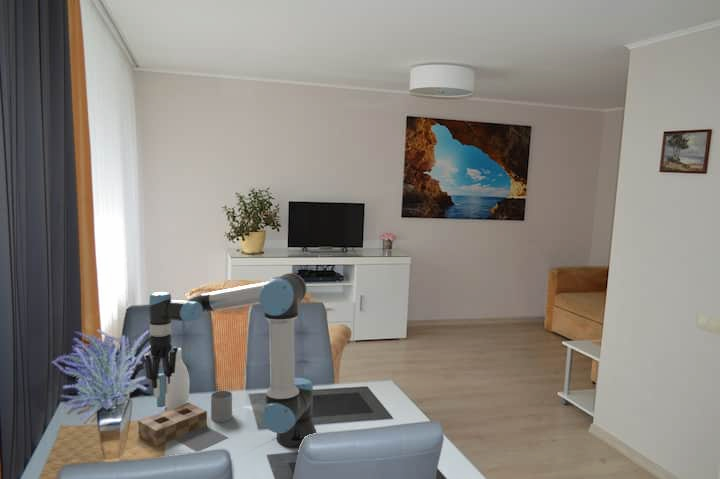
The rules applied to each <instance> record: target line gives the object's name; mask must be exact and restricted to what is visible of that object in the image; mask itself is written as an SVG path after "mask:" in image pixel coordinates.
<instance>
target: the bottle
mask: <svg viewBox="0 0 720 479" xmlns="http://www.w3.org/2000/svg"><path fill="white" fill-rule="evenodd" d="M177 348H178V350H177V353H176V362H175V372H174V373H172V376H171V377H170V384H168V394H165V406H164V409H166V411H167V410H170V409H172V408H175V407H178V406H181V405H183V404H186V403H189V396H190V395H189V394H190V384H191V382H190V381H191V380H190V374H189V372H188V367H187V366H186V365H185V363H184V361H183V360H182V348H181V347H177Z"/></svg>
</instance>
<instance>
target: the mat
mask: <svg viewBox="0 0 720 479" xmlns="http://www.w3.org/2000/svg"><path fill="white" fill-rule="evenodd" d="M227 439H229V437H228V436H226V435H224V434H223V433H220V432H219V431H217V430H215V429H213V428H210V427H209V426H203V427H200V428H198V429H196V430H193V431H191V432H188V433H186V434H183V435H181V436H179V437H176V438H174V440H175V441H177V442H178V443H180V444H182V445H184V446H186V447H187V448H189V449H190V450H191V449H192V450H193V451H194V452H197V451H199V452H201V451H203V450H205V449H207V448H209V447H212V446H214V445H216V444H219V443H221V442H223V441H225V440H227Z"/></svg>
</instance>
